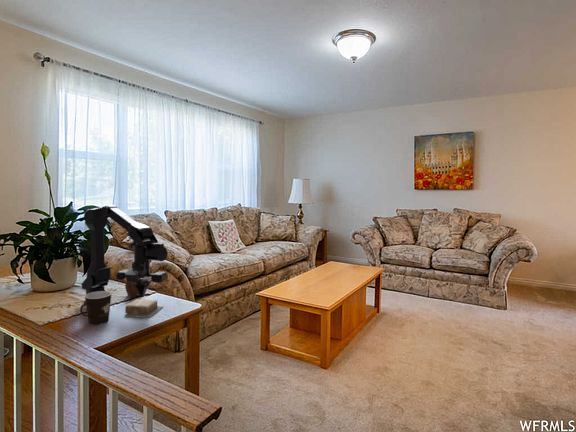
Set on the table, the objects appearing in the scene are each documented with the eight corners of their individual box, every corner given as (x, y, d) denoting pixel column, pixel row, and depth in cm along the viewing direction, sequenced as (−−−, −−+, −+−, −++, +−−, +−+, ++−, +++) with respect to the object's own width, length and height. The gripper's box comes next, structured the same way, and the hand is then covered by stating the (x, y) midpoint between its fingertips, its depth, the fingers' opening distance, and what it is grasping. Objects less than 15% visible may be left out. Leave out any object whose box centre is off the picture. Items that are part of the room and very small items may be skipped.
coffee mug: (105, 314, 134) (105, 289, 133) (116, 321, 128) (115, 294, 128) (72, 323, 125) (71, 296, 124) (81, 330, 120) (81, 302, 119)
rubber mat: (125, 315, 134) (125, 314, 134) (140, 305, 144) (140, 305, 144) (149, 317, 133) (149, 316, 132) (163, 307, 143) (163, 306, 143)
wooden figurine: (144, 293, 160) (144, 261, 159) (137, 297, 155) (137, 264, 153) (130, 292, 161) (130, 260, 160) (123, 296, 155) (122, 263, 154)
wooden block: (125, 305, 135) (147, 307, 134) (136, 298, 143) (157, 300, 142) (125, 313, 135) (147, 315, 134) (136, 306, 143) (157, 307, 142)
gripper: (107, 261, 130) (107, 302, 131) (154, 264, 128) (154, 305, 129) (124, 255, 141) (124, 292, 142) (168, 258, 139) (168, 296, 140)
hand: (142, 296), depth 138 cm, fingers closed
